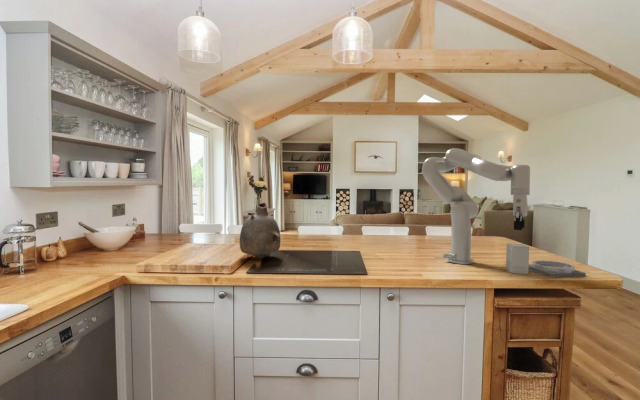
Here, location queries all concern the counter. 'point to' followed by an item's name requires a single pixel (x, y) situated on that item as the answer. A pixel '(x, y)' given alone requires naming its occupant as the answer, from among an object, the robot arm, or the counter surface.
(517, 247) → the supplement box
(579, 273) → the charcoal board
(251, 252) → the jug
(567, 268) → the steel ring
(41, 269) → the counter surface
